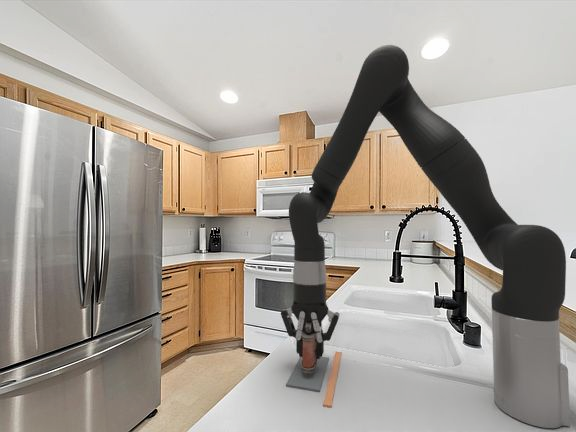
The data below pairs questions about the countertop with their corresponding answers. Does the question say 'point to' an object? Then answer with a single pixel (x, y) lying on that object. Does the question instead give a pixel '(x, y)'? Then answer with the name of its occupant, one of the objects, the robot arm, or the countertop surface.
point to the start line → (332, 381)
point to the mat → (308, 376)
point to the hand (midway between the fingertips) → (309, 355)
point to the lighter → (309, 348)
